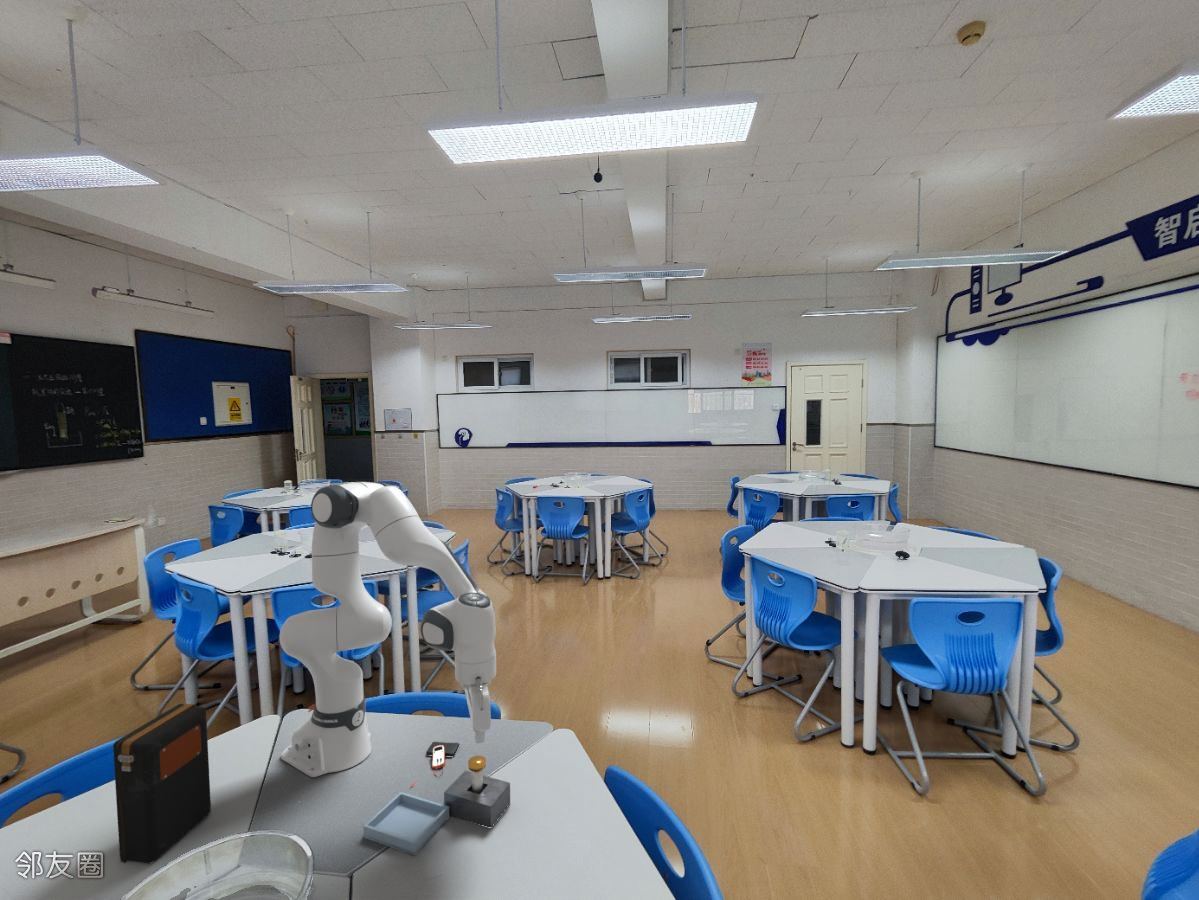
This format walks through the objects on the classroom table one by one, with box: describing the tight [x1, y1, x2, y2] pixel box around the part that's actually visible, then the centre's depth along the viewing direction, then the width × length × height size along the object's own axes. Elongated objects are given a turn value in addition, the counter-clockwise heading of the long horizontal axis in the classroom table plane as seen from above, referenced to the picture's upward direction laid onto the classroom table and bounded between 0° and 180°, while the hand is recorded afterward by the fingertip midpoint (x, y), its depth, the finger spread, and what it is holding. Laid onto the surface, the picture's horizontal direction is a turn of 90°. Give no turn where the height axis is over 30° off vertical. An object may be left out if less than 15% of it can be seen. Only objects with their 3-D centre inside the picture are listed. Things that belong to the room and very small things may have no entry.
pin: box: [467, 755, 487, 794], centre depth 122 cm, size 4×4×11 cm
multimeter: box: [410, 741, 461, 788], centre depth 137 cm, size 18×12×3 cm, turn 170°
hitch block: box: [443, 770, 511, 828], centre depth 122 cm, size 12×8×5 cm, turn 69°
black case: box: [112, 703, 212, 864], centre depth 114 cm, size 16×9×25 cm, turn 173°
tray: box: [362, 791, 450, 856], centre depth 117 cm, size 13×11×2 cm
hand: (477, 729), depth 121 cm, fingers open, 8 cm apart
